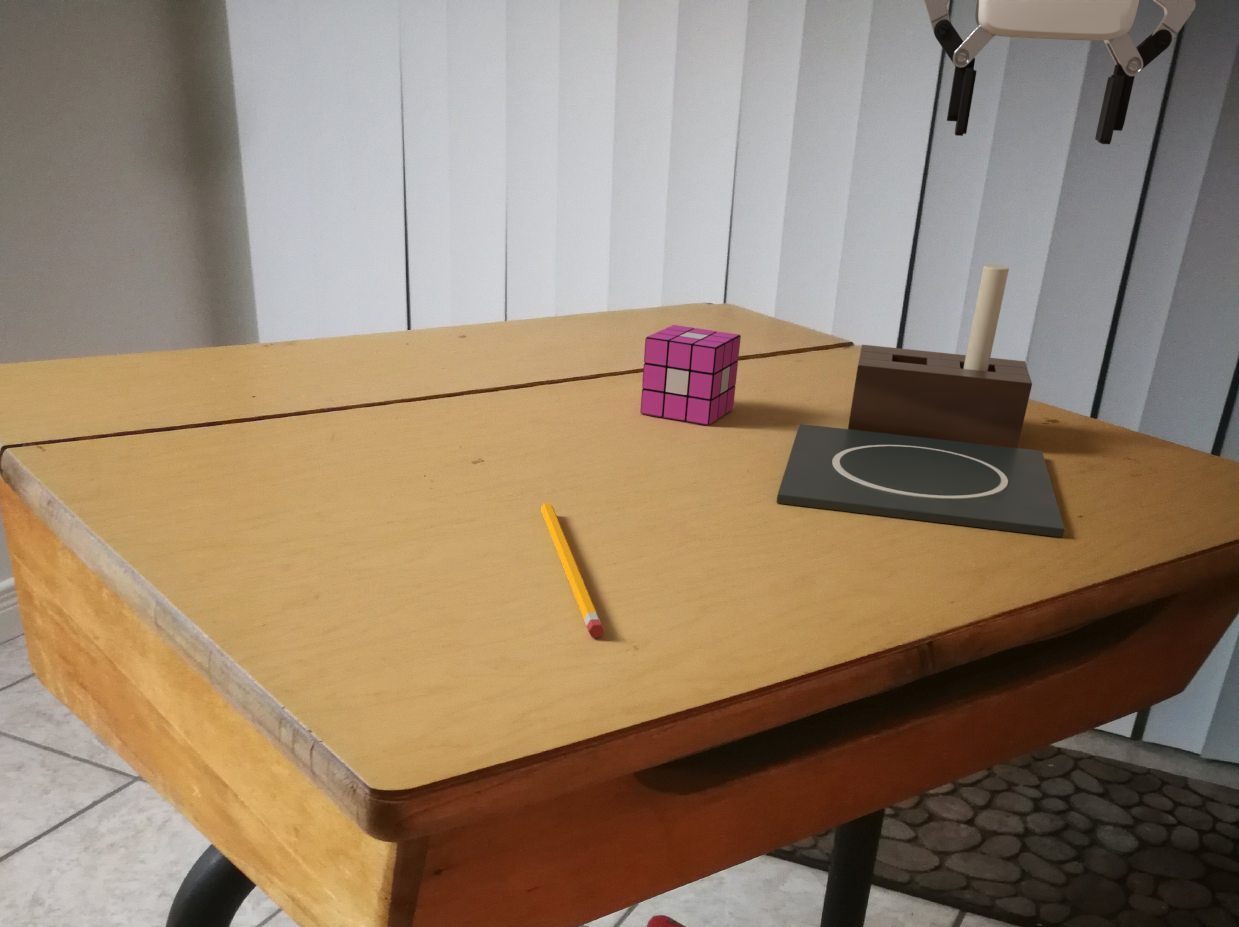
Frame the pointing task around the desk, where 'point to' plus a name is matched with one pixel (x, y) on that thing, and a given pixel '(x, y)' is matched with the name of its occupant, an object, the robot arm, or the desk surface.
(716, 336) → the puzzle toy
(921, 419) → the holder
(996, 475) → the board
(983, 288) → the marker
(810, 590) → the desk surface
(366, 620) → the desk surface
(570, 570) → the pencil
